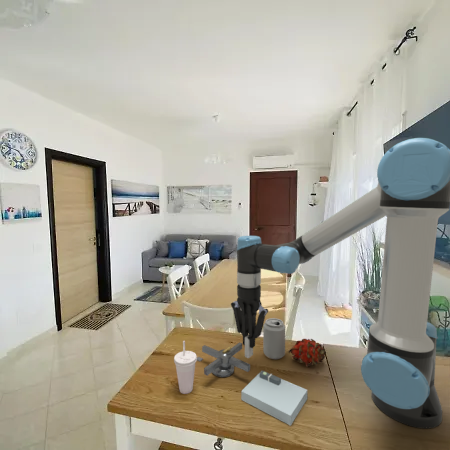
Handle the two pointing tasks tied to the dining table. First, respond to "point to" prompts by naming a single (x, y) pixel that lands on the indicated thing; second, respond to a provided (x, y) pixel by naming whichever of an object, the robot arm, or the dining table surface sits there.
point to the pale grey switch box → (275, 396)
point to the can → (274, 338)
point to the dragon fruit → (308, 352)
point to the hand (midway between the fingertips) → (248, 355)
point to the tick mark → (199, 359)
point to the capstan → (224, 361)
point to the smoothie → (185, 369)
